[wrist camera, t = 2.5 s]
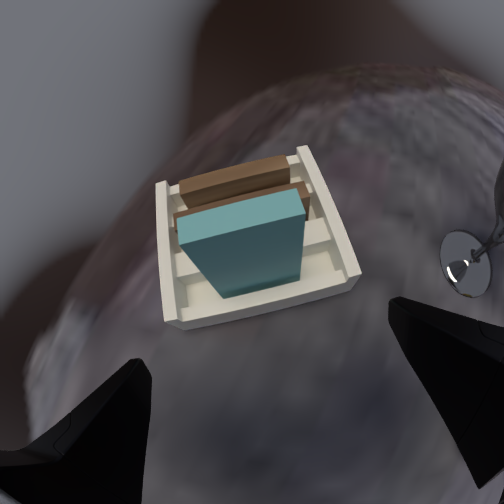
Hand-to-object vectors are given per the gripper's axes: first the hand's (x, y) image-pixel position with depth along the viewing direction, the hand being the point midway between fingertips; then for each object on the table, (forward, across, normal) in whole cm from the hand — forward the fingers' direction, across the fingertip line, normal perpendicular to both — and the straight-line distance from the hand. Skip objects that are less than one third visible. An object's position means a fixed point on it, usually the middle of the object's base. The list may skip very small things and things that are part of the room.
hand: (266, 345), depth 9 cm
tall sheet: (+12, 0, +4) cm, 13 cm away
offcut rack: (+16, 0, +2) cm, 16 cm away
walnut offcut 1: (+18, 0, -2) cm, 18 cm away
